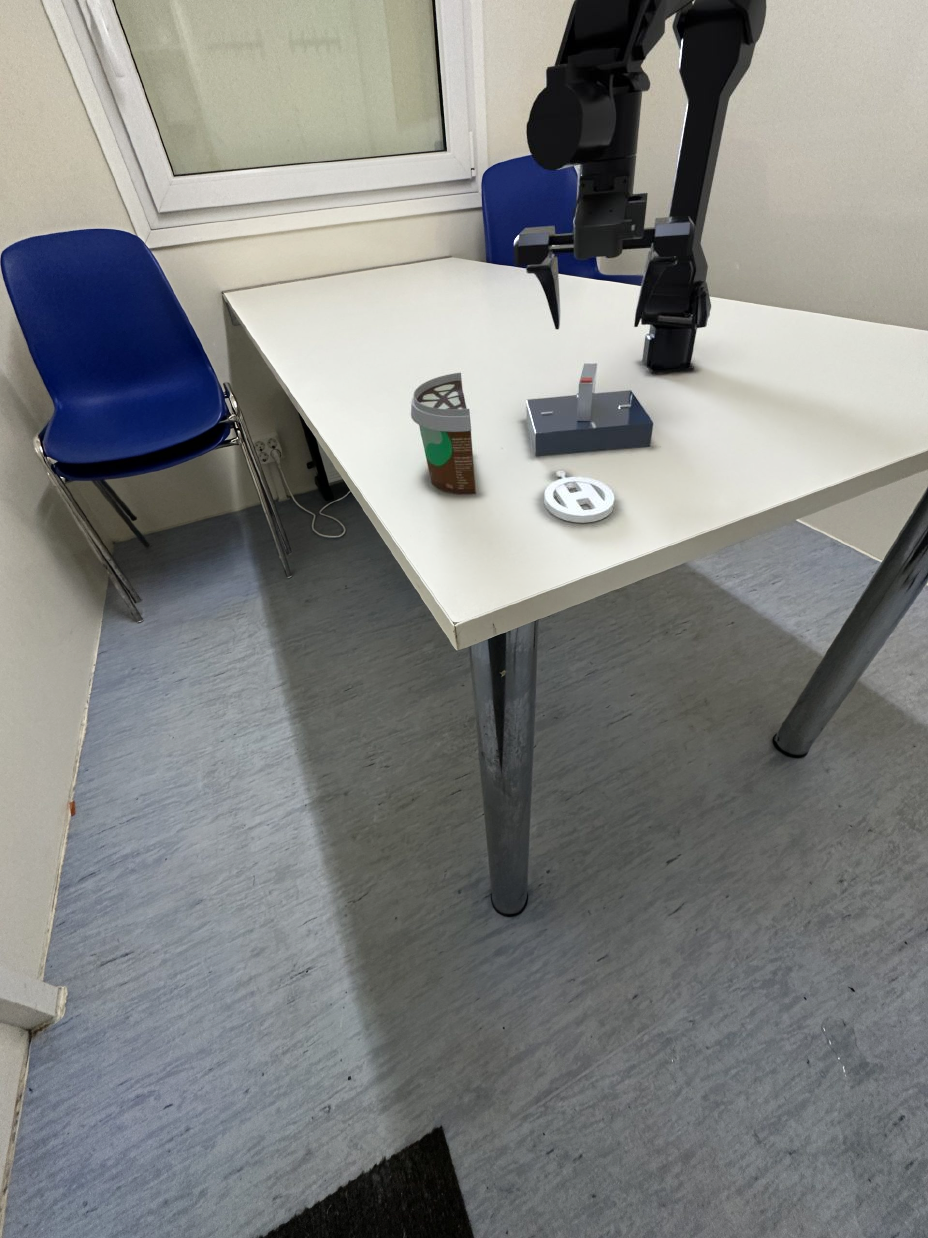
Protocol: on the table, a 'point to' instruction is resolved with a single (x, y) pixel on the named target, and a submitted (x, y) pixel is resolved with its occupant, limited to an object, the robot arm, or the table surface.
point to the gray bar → (586, 392)
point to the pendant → (579, 499)
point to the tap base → (588, 424)
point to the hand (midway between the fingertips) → (596, 327)
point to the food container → (445, 433)
